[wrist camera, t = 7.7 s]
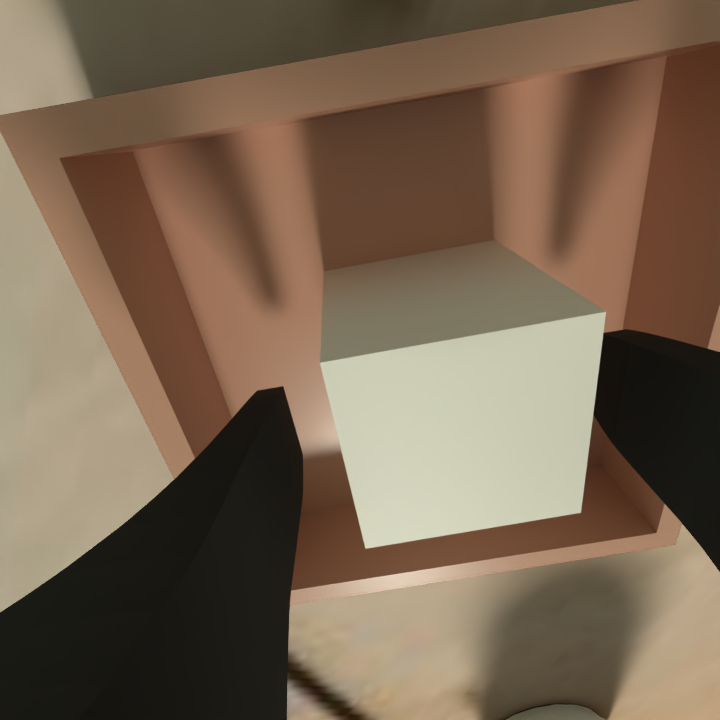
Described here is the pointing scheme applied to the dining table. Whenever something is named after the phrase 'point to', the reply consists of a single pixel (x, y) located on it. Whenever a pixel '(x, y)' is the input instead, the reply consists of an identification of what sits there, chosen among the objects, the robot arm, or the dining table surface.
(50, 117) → the bin
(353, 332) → the cube
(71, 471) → the dining table surface
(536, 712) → the supplement can
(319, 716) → the dining table surface
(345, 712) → the dining table surface
